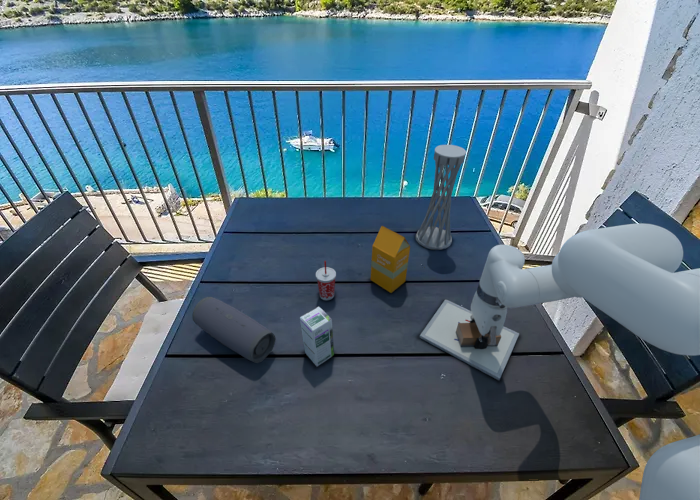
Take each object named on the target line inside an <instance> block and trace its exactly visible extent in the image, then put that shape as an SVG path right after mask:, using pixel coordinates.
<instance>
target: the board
mask: <svg viewBox="0 0 700 500" xmlns="http://www.w3.org/2000/svg"><path fill="white" fill-rule="evenodd" d="M471 315H472V312H471V309H467V308H465V307H463V306H461V305H459V304H457V303H455V302H453V301H451V300H448V299H444V301H443V302H442V304H441V305H440V306H439V308H438V309H437V311H436V312H435V314H434V315H433V316H432V317H431V319H430V320H429V322H428V323H427V325H425V327H424V329H423V330H422V331H421V333H420V335H419V339H421V340H422V341H424V342H426V343H429V344H430V345H432V346H434V347H436V348H438V349H439V350H442V351H443V352H446V353H447V354H449V355H451V356H453V357H455V358H456V359H458V360H460V361H462V362H464V363H466V364H468V365H469V366H471V367H473V368H475V369H477V370H479V371H481V372H482V373H484V374H486V375H488V376H490V377H491V378H494V379H495V380H497V381H500V380H501V378H502V375H503V373H504V370H505V368H506V366H507V364H508V362H509V359H510V356H511V355H512V352H513V350H514V347H515V345H516V343H517V341H518V339H519V336H520V333H519V332H517V331H515V330H513V329H511V328H508V327H506V326H503V329H502V331H501V333H500V335H501V339H500V342H499V344H498V346H489V347H487V348H486V349H475V348H474V347H460V344H459V341H458V338H457V335H456V329H457V326H458V323H470V320H471V318H470V317H471Z"/></svg>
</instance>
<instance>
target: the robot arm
mask: <svg viewBox="0 0 700 500" xmlns="http://www.w3.org/2000/svg"><path fill="white" fill-rule="evenodd" d="M683 258H684V248H683V245H682V243H681V241H680V240H679V238H678V237H677V236H676V235H675V234H674V233H673V232H671V231H670V230H669V229H666V228H664V227H662V226H659V225H656V224H652V223H640V222H639V223H630V224H629V223H628V224H621V225H615V226H608V227H600V228H593V229H587V230H584V231H579V232H577V233H576V234H574V235H572V236H571V237H569V238H568V239H567V240H566V241H565V242H564V243H563V244H562V245H561V248H560V249H559V252H558V253H557V254H556V255H555V256H554V258H553V259H552V262H551V264H548V265H540V266H534V267H529V268H524V266H525V263H526V262H525V261H526V259H525V255H524V253H523V252H522V251H521V250H520V249H518V248H517V247H516V246H513V245H510V244H497V245H495V246H493V247H492V248H491V249H489V252H488V254H487V258H486V259H485V260H486V261H485V264H484V266H483V270H482V273H481V276H480V278H479V282H478V285H477V288H476V291H475V292H474V295H473V298H472V300H471V304H470V311H471V312H472V315H471V317H470V318H471V320H470V323H476V325H477V327H478V329H479V332H480V335H479V338H477V340H476V343H475V345H474V348H475V349H486V348H487V346H488V344H489V345H496V336H499V335H500V333H501V331H502V329H503V326H504V325H505V322H506V319H507V313H508V309H517V308H519V309H520V308H524V307H529V306H534V305H540V304H544V303H551V302H557V301H558V302H559V301H563V300H567V299H572V298H583V299H585V300H586V301H587V302H588V303H590V304H591V305H593V306H594V307H595V308H597V309H598V310H600V312H603V313H604V314H605V315H607V317H608V316H609V318H611V319H613V320H614V321H616V322H617V323H618V324H620V325H621V326H623V327H624V328H625V329H627V330H629V331H630V332H631V333H633V334H634V335H636V336H637V337H638V338H640V339H641V340H643V341H644V342H646V343H647V344H650V345H651V346H654V347H656V348H657V349H660V350H662V351H665V352H668V353H671V354H675V355H681V356H694V357H695V356H700V268H699V267H698V268H694V269H688V270H682V271H677V270H678V269H679V268H680V266H681V264H682V262H683ZM504 327H505V326H504ZM485 334H488V337H487V336H485V337H483V336H484V335H485ZM638 500H700V434H697V435H694V436H690V437H687V438H683V439H679V440H676V441H673V442H670V443H668V444H665V445H663V446H661V447H659V448H658V449H657V450H656V451H654V452H653V453H652V455H651V456H650V457H649V458H648V460H647V461H646V464H645V465H644V469H643V473H642V478H641V485H640V491H639V498H638Z"/></svg>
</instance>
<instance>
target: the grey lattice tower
mask: <svg viewBox="0 0 700 500" xmlns="http://www.w3.org/2000/svg"><path fill="white" fill-rule="evenodd" d="M466 154H467V151H466V150H465V148H463V147H462V146H458V145H455V144H440V145H437V146H436V147H435V148H434V153H433V160H434V162H435V170H434V179H433V190H432V195H431V198H430V201H429V204H428V207H427V210H426V213H425V217H424V219H423V221H422V223H421V225H420V227H419V229H418V230H417V232H416V234H415V241H416V242H417V243H418V245H420V246H422V247H423V248H426V249H429V250H445V249H447V248H449V247H451V245H452V242H453V237H452V234H451V206H452V194H453V191H454V186H455V184H456V180H457V176H458V173H459V171H460V170H461V166H462V164H463V163H465V158H466ZM444 169H445V170H444ZM444 171H445V174H444ZM436 201H437V202H436ZM441 203H442V204H441ZM442 212H443V215H442ZM436 213H437V216H436V218H434V217H435V215H436ZM434 219H435V220H434ZM437 225H438V227H437ZM444 226H445V228H444Z"/></svg>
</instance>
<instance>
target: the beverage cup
mask: <svg viewBox="0 0 700 500" xmlns="http://www.w3.org/2000/svg"><path fill="white" fill-rule="evenodd" d="M323 265H324V267H321V268H318V269H317V270H316V272H315V278H316V281H317V287H318V294H319V298H320V299H321V300H323V301H330V300H332V299H333V298H334V297H335V289H336V278H337V272H336V270H335V269H334V268H332V267H329V266H327V260H324V264H323Z"/></svg>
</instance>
